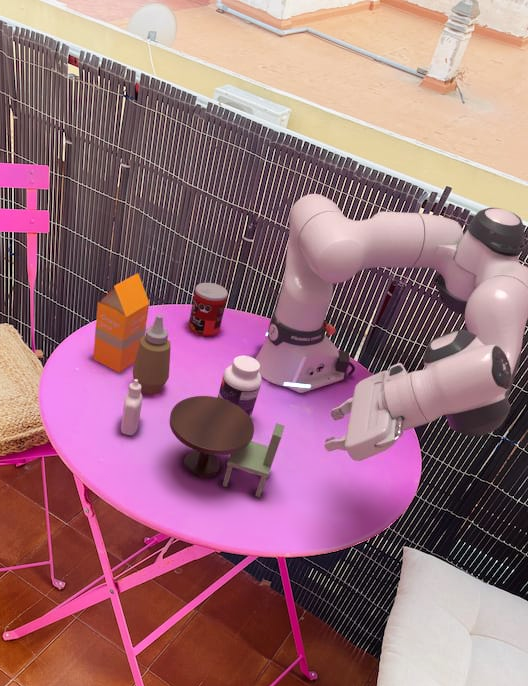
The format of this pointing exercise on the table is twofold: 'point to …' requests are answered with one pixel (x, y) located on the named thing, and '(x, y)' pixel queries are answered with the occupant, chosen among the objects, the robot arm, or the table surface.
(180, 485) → the table surface
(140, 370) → the squeeze bottle
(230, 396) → the pill bottle
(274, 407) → the table surface
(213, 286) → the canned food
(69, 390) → the table surface
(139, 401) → the eye dropper bottle
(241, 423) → the little table
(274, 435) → the chair
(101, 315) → the orange juice
